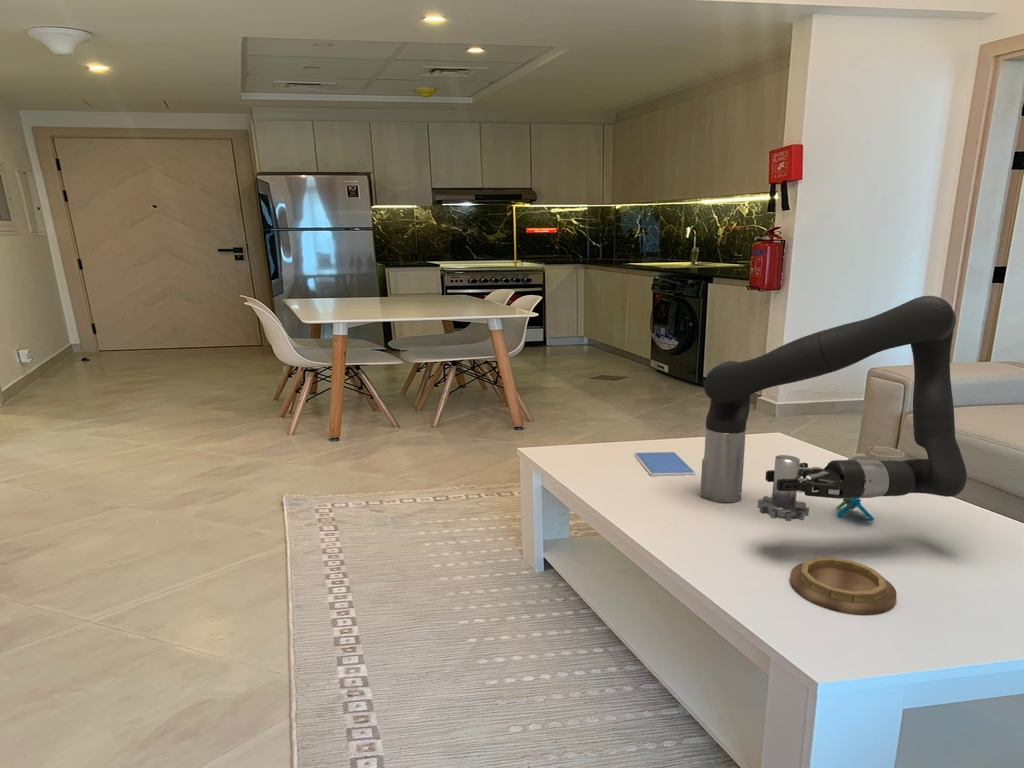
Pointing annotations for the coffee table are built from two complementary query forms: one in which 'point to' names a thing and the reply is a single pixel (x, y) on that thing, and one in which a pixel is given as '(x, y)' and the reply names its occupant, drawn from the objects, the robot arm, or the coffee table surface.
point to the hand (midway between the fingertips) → (772, 480)
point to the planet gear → (784, 492)
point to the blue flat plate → (664, 464)
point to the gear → (852, 507)
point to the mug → (880, 454)
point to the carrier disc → (843, 586)
